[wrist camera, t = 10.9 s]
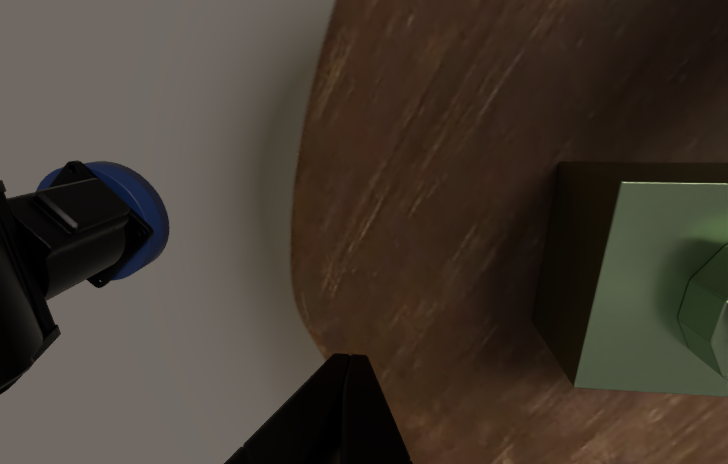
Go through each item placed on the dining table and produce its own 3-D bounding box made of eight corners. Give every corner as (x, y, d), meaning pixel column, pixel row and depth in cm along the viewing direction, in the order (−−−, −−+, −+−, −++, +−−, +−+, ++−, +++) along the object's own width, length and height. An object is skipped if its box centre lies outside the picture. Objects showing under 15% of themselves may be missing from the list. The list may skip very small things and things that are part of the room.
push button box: (531, 321, 23) (593, 418, 15) (559, 161, 19) (652, 191, 12) (710, 329, 22) (862, 436, 15) (770, 163, 18) (1002, 196, 11)
